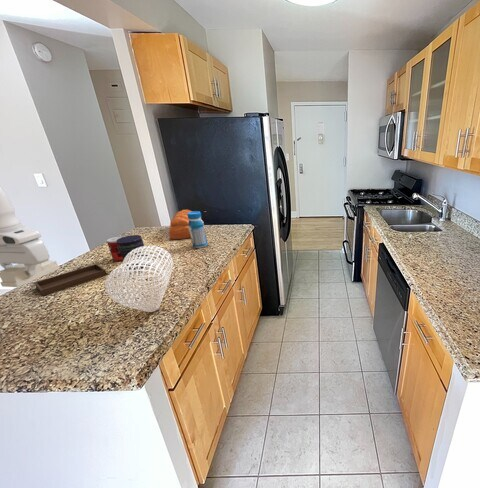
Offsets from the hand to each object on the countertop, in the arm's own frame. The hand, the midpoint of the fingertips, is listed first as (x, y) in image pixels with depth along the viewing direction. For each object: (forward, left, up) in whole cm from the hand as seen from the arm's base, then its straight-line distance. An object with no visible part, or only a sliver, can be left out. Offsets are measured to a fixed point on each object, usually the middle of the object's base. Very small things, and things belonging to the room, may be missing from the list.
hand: (23, 274), depth 85 cm
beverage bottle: (+69, +15, -17) cm, 72 cm away
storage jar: (+36, +15, -17) cm, 42 cm away
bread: (+78, +47, -17) cm, 93 cm away
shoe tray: (+14, +24, -17) cm, 33 cm away
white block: (+2, +1, -2) cm, 3 cm away
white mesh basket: (+24, -29, -17) cm, 41 cm away
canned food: (+36, +33, -17) cm, 52 cm away
